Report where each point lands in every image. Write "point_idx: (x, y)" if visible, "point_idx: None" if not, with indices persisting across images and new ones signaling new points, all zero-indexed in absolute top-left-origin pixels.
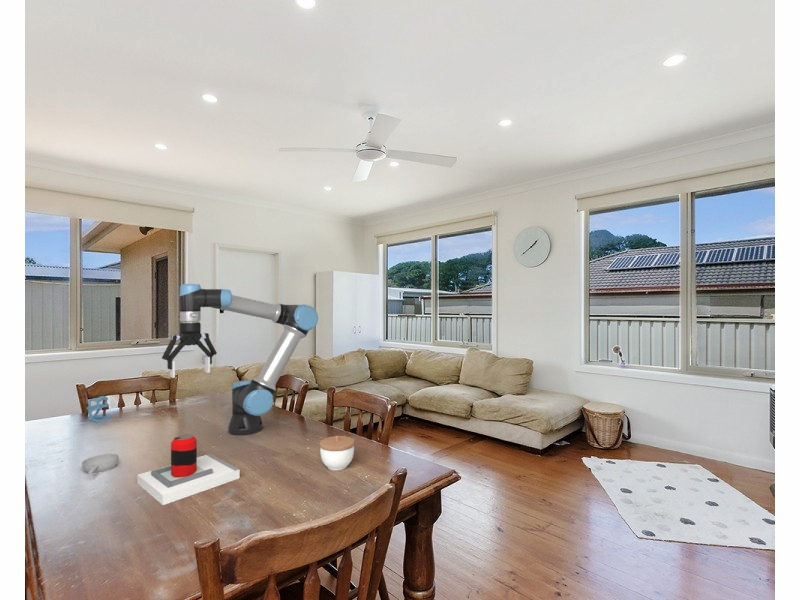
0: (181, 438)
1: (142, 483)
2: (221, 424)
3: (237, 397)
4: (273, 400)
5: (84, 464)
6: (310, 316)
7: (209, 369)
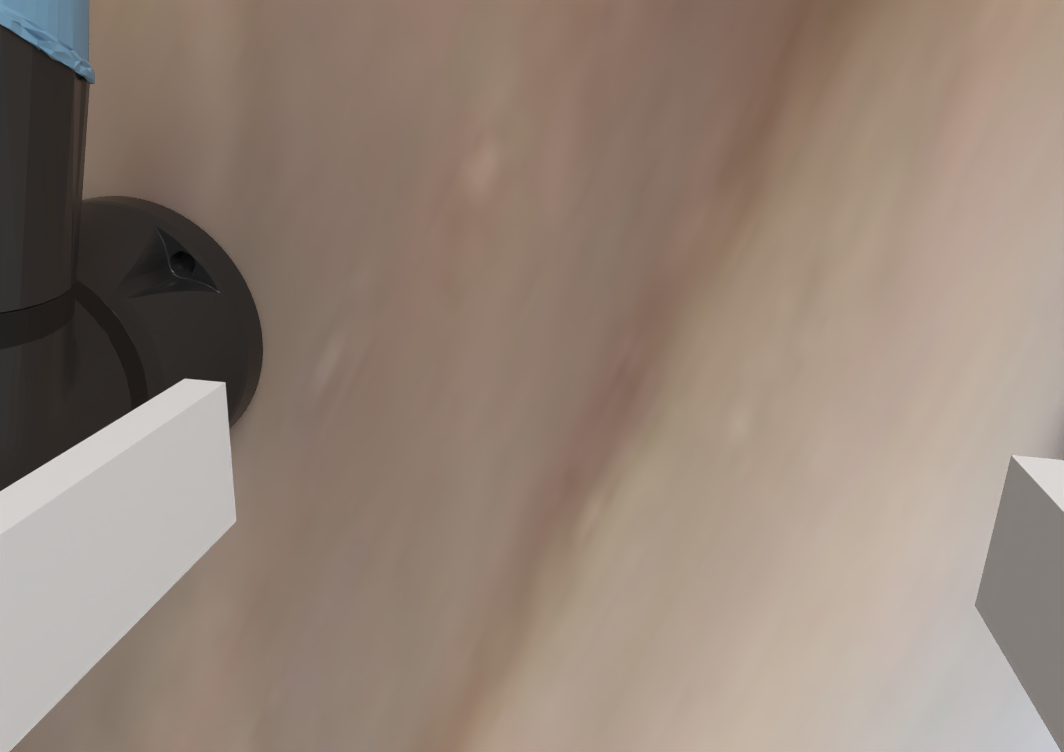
0: None
1: None
2: (215, 595)
3: (23, 324)
4: None
5: None
6: None
7: (152, 404)
